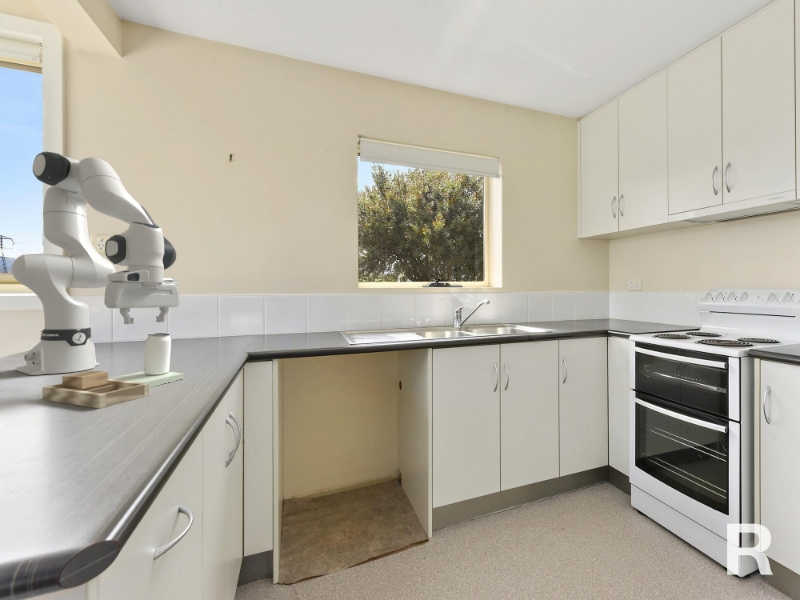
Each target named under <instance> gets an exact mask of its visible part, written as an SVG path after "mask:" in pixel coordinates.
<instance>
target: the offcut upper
mask: <svg viewBox="0 0 800 600" xmlns="http://www.w3.org/2000/svg"><path fill="white" fill-rule="evenodd" d="M108 378H109V371H104V370H103V371H102V370H101V371H100V370H99V371H98V370H85V371H80V372H76V373H72V374H68V375H62V377H61V379H62V382H61V384H62V388H67V389H85V388H89V387H93V386H97V385H101V384H105V383H108Z"/></svg>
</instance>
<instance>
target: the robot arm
mask: <svg viewBox="0 0 800 600" xmlns="http://www.w3.org/2000/svg"><path fill="white" fill-rule="evenodd" d="M32 173H33V175H34V176H35V178H36V179H37V180H38V181H40V182H42V183H43V184H46V185H48V186H49V187H48V188H47V189H46V191H45V194H44V199H43V207H42V208H43V209H42V217H43V220H42V222H43V236H44V238H45V239H46V240H47V241H48V242H49V243H50V244H52V245H54V246H57V247H59V248H61V249H63V250H64V251H66V253H67V255H63V254H53V253H52V254H50V253H31V254H30V253H27V254H21V255H19V256H18V257H16V259H15V260H14V261H13V262H12V264H11V274H12V276H13V278H14V279H15V280H16V282H18V283H19V284H21V285H23V286H25V287H26V288H27V289H30V290H31V291H32V292H33V293H34V294H35V295H36V296H37V298H38V299H39V300H40V302H41V304H42V308H43V316H44V329H42V330H41V331H40V341H39V342H38V343H37V344H35V346H33V347H32V348H31V349H30V350H29V351H28V352H27V353H26V354H24V355H23V358H24V361H26V362H25V363H26V364H25V365H21V366H18V367H15V371H17V372H19V373H23V374H26V375H29V376H38V375H39V376H40V375H53V374H65V373H66V374H67V373H74V372H76V373H77V372H83V371H88V370H92V369H94V368H96V367H98V366H99V365H100V362H99V361H97V360H96V359H97V358H96V351H95V350H96V349H95V343H94V342H93V341H92V340H91V338H92V328H91V327H90V311H91V310H90V307H89V305H88V303H86V302H84V301H83V300H81V299H78V298H76V297H73V296H71V295H69V294H68V291H67V289H99V288H105V289H104V305H105V306H106V308H107V309H119V313H120V315H121V317H122V318H123V324H124V325H134V320H135V318H134V317H132V316H130V312H131V309H145V308H146V309H148V308H149V309H151V308H154V309H155V308H159V309H158V311H160V312H159V315H158V316H156V317H155V319H156V320H155V321H156V323H164V322H165V321H166V316H167V314H168V313H169V312H170V311H169V308H177V307H179V305H180V304H181V298H180V291H179V283H178V282H177V280H175V279H174V278H165V270H167V269H169V268H171V266H173V265H174V263H175V262H176V259H177V252H176V249H175V247H174V246H173V244H172V243H171V242H170V241H169V240H168V239H167V238H166V237H165V236H164V232H163V229H162V228H161V227H160V226H159V225H157V224H156V223H155V221H154V219H153V218H152V216H151V215H150V213H149V211H148V210H146V208H145V207H144V206H142V205H141V204H140V202H137V200H136V199H134V198H133V196H132V195H131V194H130V193H129V192H128V191H127V190H126V188H125V187H124V184H123V182H122V180H121V178H120V176H119V175H118V173H117V172H116V170H115V169H114V167H112V165H111V164H110V163H109V162H108V161H106V160H104V159H102V158H98V157H94V156H92V157H86V158H83V159H81V160H80V159H76V158H72V157H69V156H66V155H62V154H60V153H58V152H51V151H43V152H40V153H38V154H37V155H36V156H35V157H34V159H33V162H32ZM87 204H88V206H90V207H91V208H93V210H95V211H96V212H97V213H100V214H102V215H106V216H109V217H111V218H114V219H117V220H119V221H122V222H124V223H126V224H129V226H128V229H126V230H125V231H123V232H121V233H119V234H114V235H112V236H110V237H109V238H108V239H107V240H106V241H105V244H104V254H105V256H106V258H104V257H103V256H102V255H101V254H100V253H99V252H98V251H97V250H96V248H95V247H94V245H93V243H92V241H91V239H90V234H89V226H88V223H89V222H88V214H87ZM115 265H116V266H121V267H127V269H125V270H121V271H117V270H116V267H115Z"/></svg>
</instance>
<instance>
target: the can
mask: <svg viewBox="0 0 800 600" xmlns="http://www.w3.org/2000/svg"><path fill="white" fill-rule="evenodd" d="M171 347H172V339H171V334H170V333H166V332H165V333H164V332H153V333H148V334H147V337H146V339H145V346H144V362H143V363H144V364H143V365H144V366H143V371H144V373H145V374H146V375H162V374H166V373H168V372H170V364H171V363H170V362H171V352H172V351H171V349H172V348H171Z"/></svg>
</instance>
